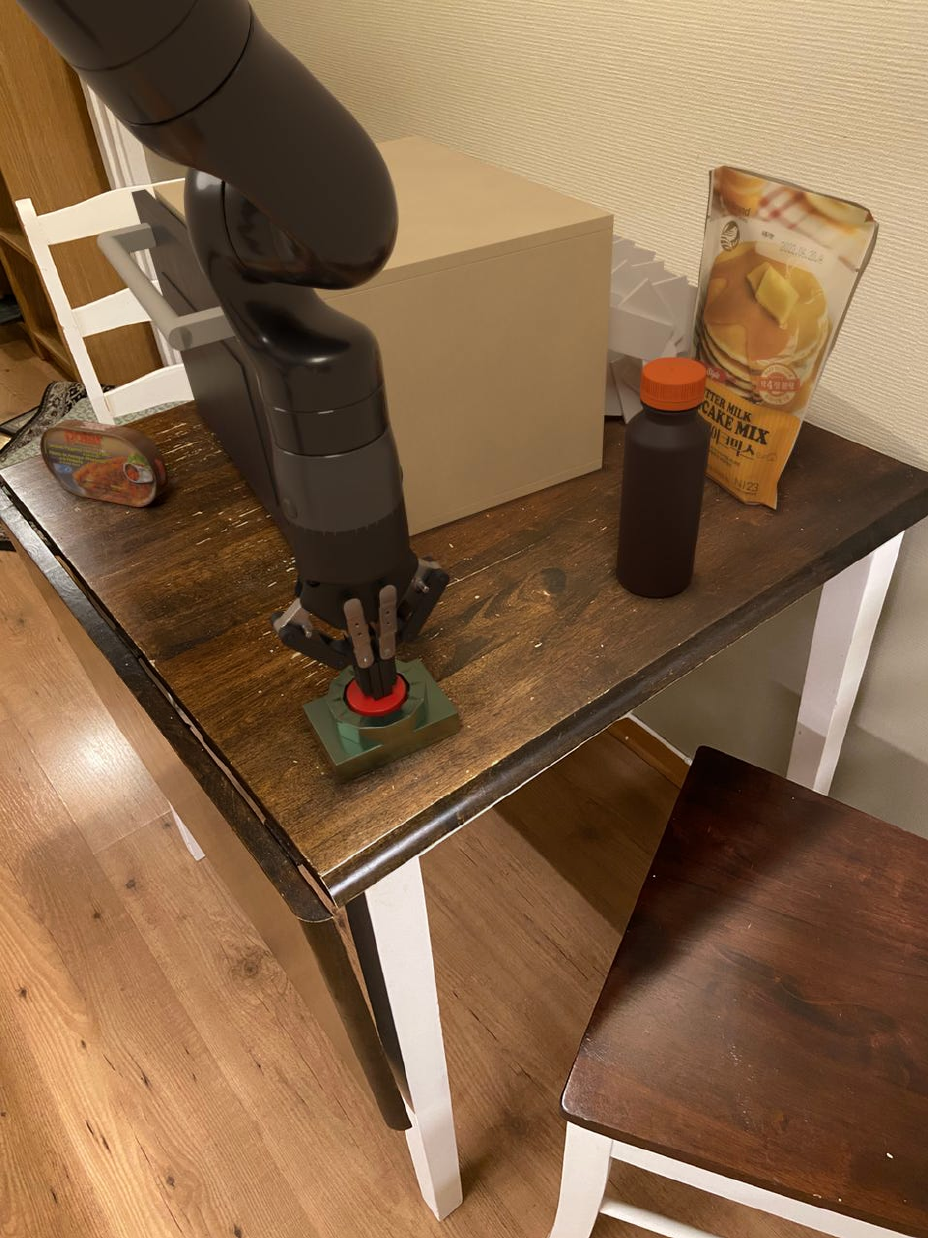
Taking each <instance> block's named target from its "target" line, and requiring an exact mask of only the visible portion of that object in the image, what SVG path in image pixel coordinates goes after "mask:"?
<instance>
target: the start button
mask: <svg viewBox="0 0 928 1238" xmlns="http://www.w3.org/2000/svg"><path fill="white" fill-rule="evenodd" d="M397 676H398V680H397V683H396V685H393V686H392V691H393V693H392V694H389V695H387V696H384V697H382V698H380V699H377V700H375V701H374V700H373V698H372V697H371V695H369V696H367V697H366V696H365V695H364V694H363V693H362V691H361V689H360V688H359V686H358V685H357V683H356V682H355V679H354V680H353V681H352V682H351V684H350V685H349V687H348V690H347V699H348V704H349V709H350V710H351V711H353V712H355V713H358V714H360V715H362V716H383V715H385V714H388V713H390V712H392V711H395V710H397V709H399V708H400V707H401V706H402V705H403V703H404V702H405V701H406V700H407V693H406V686H405V683H404V681H403V679H402V678H401V677H400V676H399V675H397Z"/></svg>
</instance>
